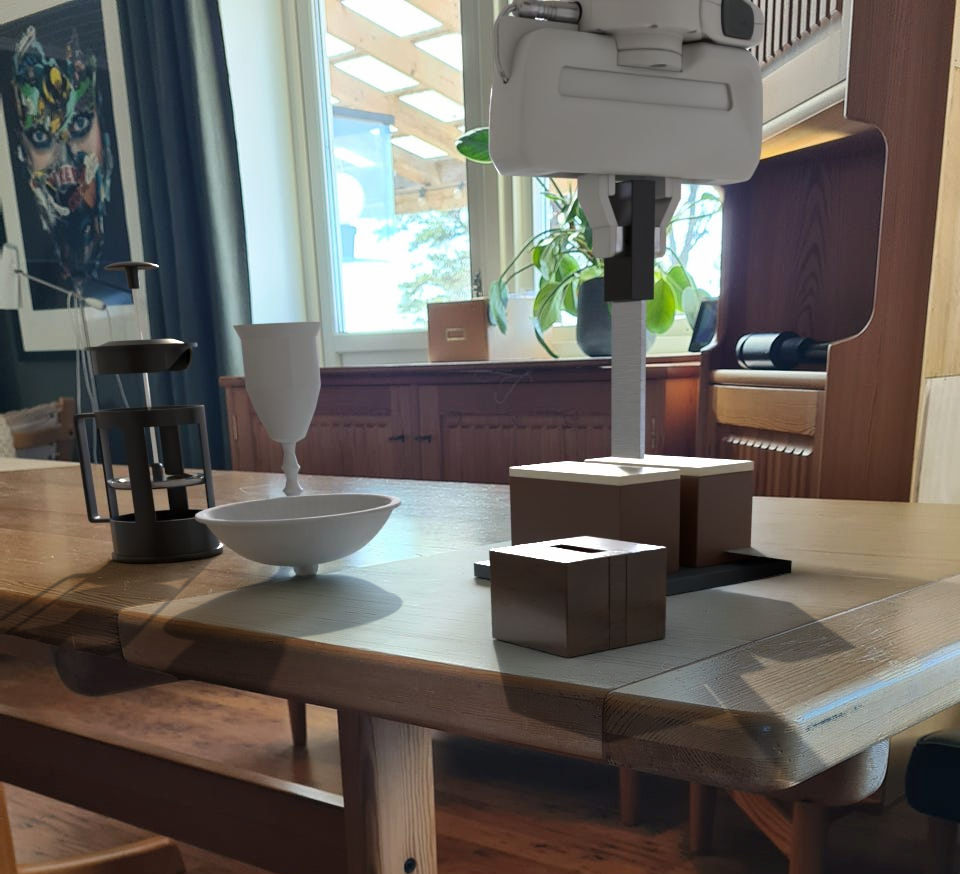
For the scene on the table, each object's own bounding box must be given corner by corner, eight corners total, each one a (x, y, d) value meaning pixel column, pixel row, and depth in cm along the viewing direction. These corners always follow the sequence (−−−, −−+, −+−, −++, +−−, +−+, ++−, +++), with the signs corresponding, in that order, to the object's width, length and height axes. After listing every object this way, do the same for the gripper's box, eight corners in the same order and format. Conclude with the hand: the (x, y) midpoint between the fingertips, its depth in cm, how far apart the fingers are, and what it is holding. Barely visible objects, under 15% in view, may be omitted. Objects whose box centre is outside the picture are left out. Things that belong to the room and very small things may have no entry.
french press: (243, 545, 114) (213, 262, 106) (213, 561, 106) (177, 254, 97) (116, 548, 115) (76, 269, 107) (76, 565, 107) (29, 262, 98)
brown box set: (639, 550, 102) (639, 451, 99) (791, 573, 90) (797, 459, 87) (473, 576, 94) (469, 468, 91) (616, 604, 81) (616, 480, 78)
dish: (289, 553, 108) (283, 492, 106) (441, 558, 102) (438, 493, 101) (158, 590, 93) (148, 519, 92) (327, 598, 88) (321, 523, 86)
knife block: (586, 620, 77) (585, 535, 75) (666, 638, 72) (667, 547, 70) (491, 638, 73) (488, 549, 71) (567, 658, 68) (566, 562, 66)
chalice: (243, 554, 109) (218, 325, 102) (273, 542, 115) (252, 326, 108) (324, 554, 107) (304, 321, 101) (351, 542, 113) (334, 322, 107)
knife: (624, 456, 90) (625, 186, 84) (653, 457, 88) (656, 180, 82) (602, 458, 89) (602, 185, 83) (631, 460, 87) (633, 179, 81)
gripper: (526, -22, 71) (532, 252, 76) (783, 16, 82) (773, 255, 87) (463, 4, 76) (472, 260, 81) (713, 37, 87) (707, 261, 92)
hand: (629, 257), depth 84 cm, fingers closed on knife, 2 cm apart
